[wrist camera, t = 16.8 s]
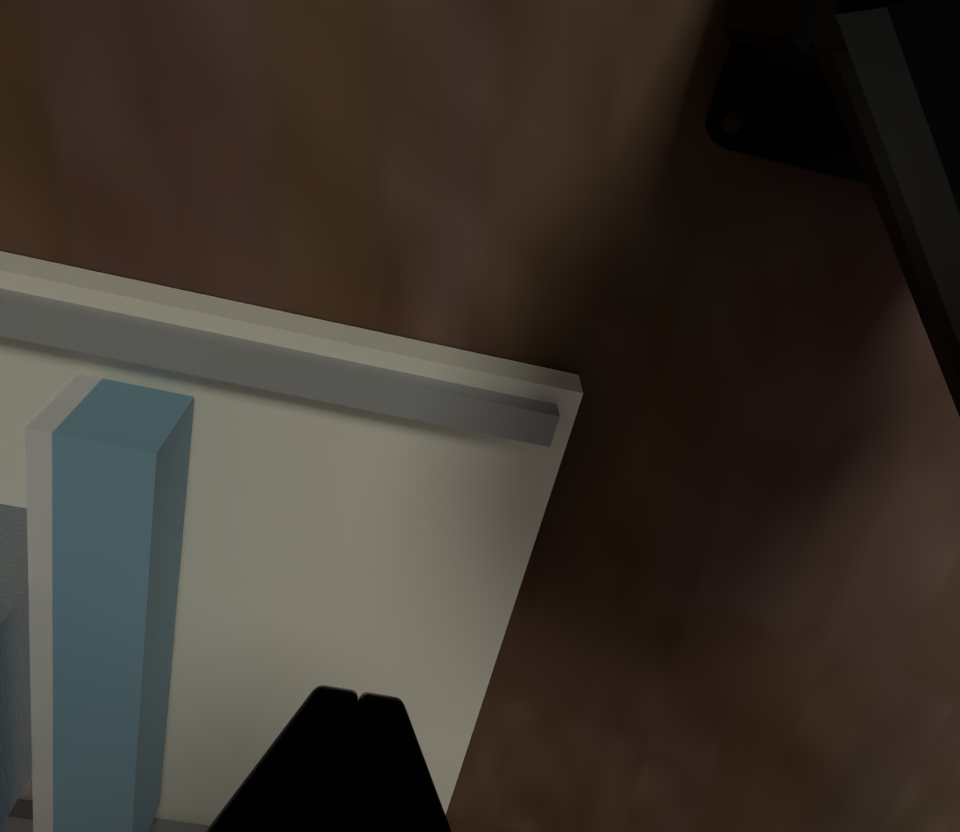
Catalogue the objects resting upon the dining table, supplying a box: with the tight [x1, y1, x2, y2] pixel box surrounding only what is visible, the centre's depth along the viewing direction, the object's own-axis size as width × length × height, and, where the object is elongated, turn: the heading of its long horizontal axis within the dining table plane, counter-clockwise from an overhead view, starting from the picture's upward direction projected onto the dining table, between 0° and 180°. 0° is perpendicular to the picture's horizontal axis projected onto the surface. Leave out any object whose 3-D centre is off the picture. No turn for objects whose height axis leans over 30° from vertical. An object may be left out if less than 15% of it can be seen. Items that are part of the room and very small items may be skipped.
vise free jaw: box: [25, 374, 194, 832], centre depth 20 cm, size 2×14×2 cm, turn 167°
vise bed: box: [0, 251, 583, 832], centre depth 21 cm, size 19×18×4 cm
